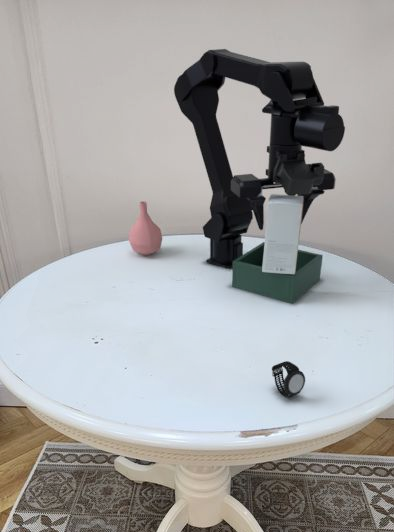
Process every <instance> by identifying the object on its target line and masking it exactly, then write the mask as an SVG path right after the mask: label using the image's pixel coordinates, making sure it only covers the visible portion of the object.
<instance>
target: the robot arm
mask: <svg viewBox="0 0 394 532" xmlns="http://www.w3.org/2000/svg"><path fill="white" fill-rule="evenodd" d="M226 79H230V80H233V81H236V82H239V83H243V84H246V85H249V86H252V87H255V88H257V89H259V92H260V93H261V95H263V96H265V97H266V98H268V99H270V100H269V102H268V103H267V104H266V105H264V107H263V108H262V109H261V112H262V114H269V115H270V131H269V145H267V146H266V153H268V165H267V167H268V168H266V169H265V176H267V177H266V178H265V177H264V178H258V177H257V176H256V175H254V174H253V173H244V174H235V175H233V172H232V169H231V164H230V161H229V157H228V154H227V149H226V147H225V143H224V139H223V136H222V132H221V129H220V125H219V122H218V119H217V112H218V107H219V102H220V97H219V91H220V89H221V88H222V87H223V86H224V85H225V82H226ZM173 86H174V87H173V94H174V97H175V100H176V102H177V105H178V107H179V109H180V112H181V113H182V114H183V116H184V117H186V119H187V120H188V121H190V123H191V124H192V127H193V129H194V133H195V136H196V141H197V143H198V147H199V149H200V153H201V157H202V160H203V165H204V167H205V171H206V174H207V178H208V181H209V185H210V188H211V192H212V195H211V200H210V204H209V211H210V212H209V213H210V216H211V217H210V219H209V220H208V221H207V222H206V223H205V224H204V225H203V226H202V231H203V235H204V237H205V238H206V239H209V258H207V259H206V260H205V262H206V264H211V265H215V266H218V267H222V268H225V269H233V261H234V260H236V259H237V258H239V257H240V256H242V255H244V254H243V253H244V242H242V237H243V236H242V235H243V234H247V233H248V230H249V227H250V225H251V223H252V220H253V219H254V218H255V220H256V224H257V226H258V227H257V228H258V230H260V231H263V230H264V223H265V219H264V218H265V214H264V213H265V211H264V207H265V206H264V205H265V202H266V200H267V199H266V197H265V196H264V195H263V190H271V189H279V188H281V189H282V188H283V190H284V193H285V195H289V196H304V202H303V212H302V220H301V225H302V224H303V222H304V220H305V217H306V215H307V213H308V212H309V209H310V207H311V205H312V203H313V201H314V200H315V199H316V198H318V197H319V196H320V195H324V194H325V192H326V191H331V190H334V189H335V187H336V180H337V179H336V176H335V174H334V173H333V172H332V171H330V170H328V169H326V168H325V165H324V164H323V163H322V162H313V163H306V153H305V150H304V149H303V148H302V147H306V148H311V149H316V150H321V151H326V152H334V151H335V150H337V149H338V148H339V146H340V145H341V144H342V142H343V140H344V136H345V132H346V126H345V123H344V119H343V116H342V115H340V106H339V105H333V104H331V105H325V102H324V100H323V97H322V94H321V92H320V89H319V87H318V85H317V82H316V80H315V77H314V74H313V71H312V66H311V65H310V64H309V63H308V62H306V61H275V62H274V61H273V62H272V61H267V60H264V59H260V58H256V57H252V56H248V55H245V54H240V53H237V52H234V51H233V52H232V51H230V50H228V49H227V48H218V49H208V50H207V51H205V52H204V53H203V54H202V56H201V57H200V58H199V59H198V60H197V61H196V62H194V63H192V64H191V66H188V67H187V68H186V69H185V70H184V71H183V72H182V74H181V75H179V76H178V77H177V79H176V82H175V83H174V85H173Z"/></svg>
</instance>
